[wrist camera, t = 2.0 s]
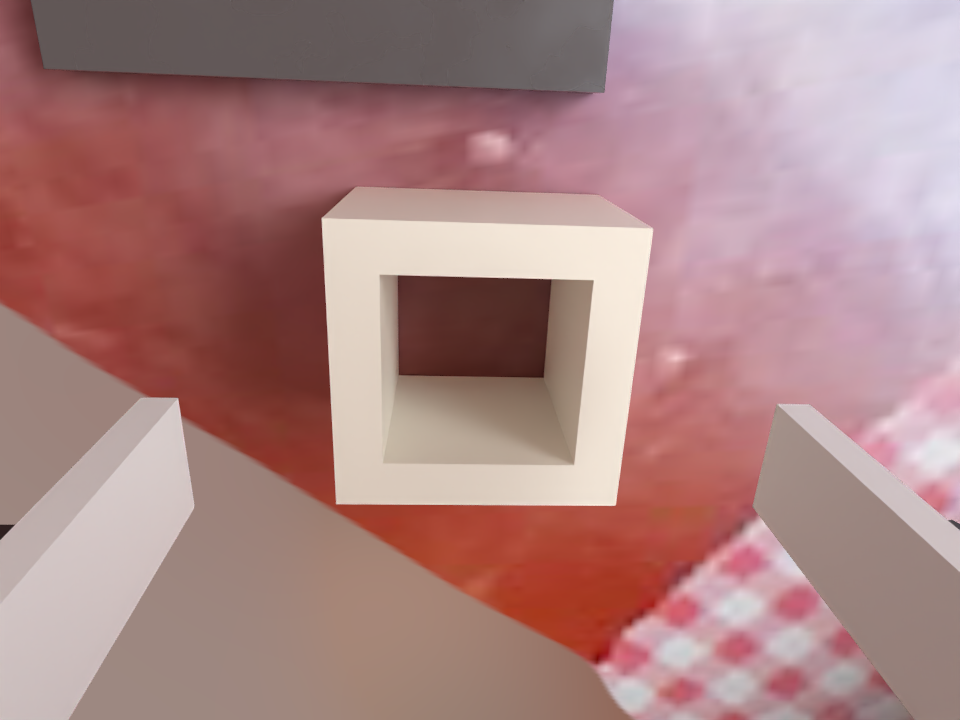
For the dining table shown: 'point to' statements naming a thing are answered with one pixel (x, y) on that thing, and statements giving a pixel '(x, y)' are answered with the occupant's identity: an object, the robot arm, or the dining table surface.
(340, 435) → the collar
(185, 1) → the post base
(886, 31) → the dining table surface
